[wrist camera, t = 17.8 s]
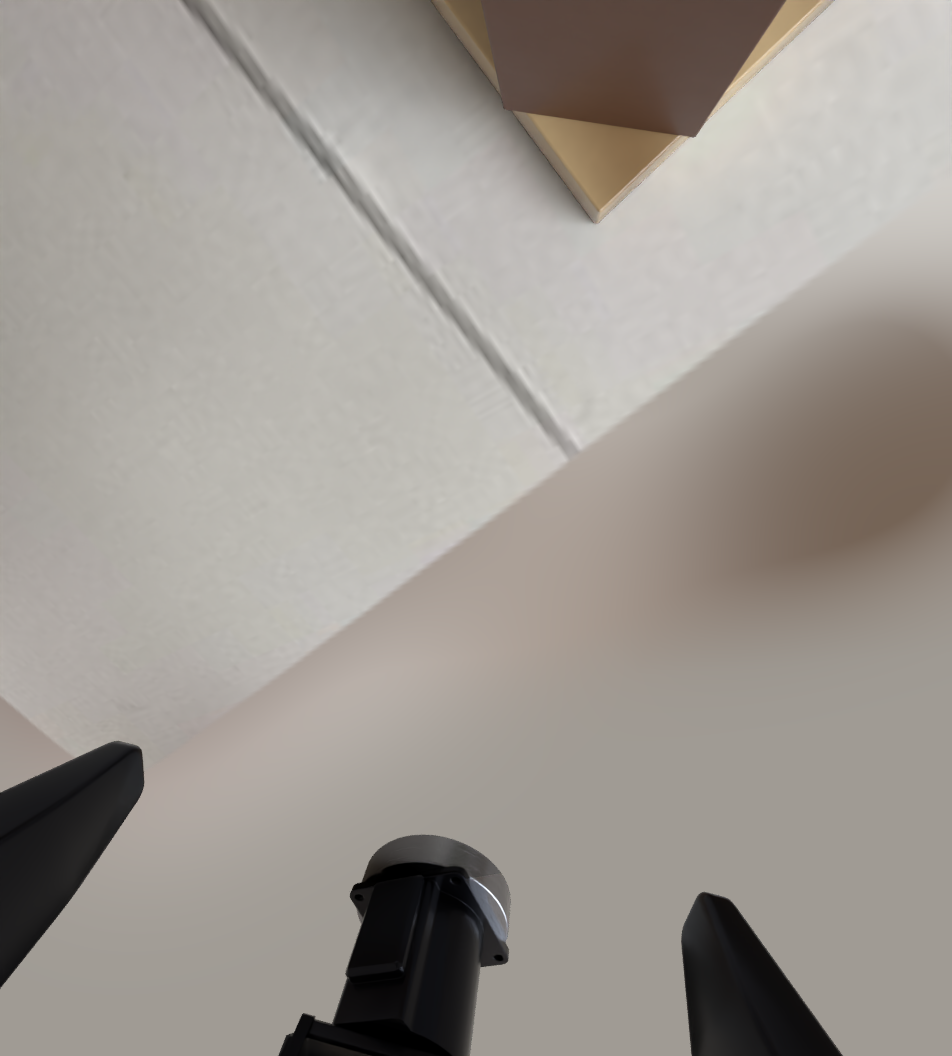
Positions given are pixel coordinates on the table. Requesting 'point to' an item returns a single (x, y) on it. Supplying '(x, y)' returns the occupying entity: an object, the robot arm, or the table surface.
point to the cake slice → (623, 57)
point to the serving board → (604, 150)
